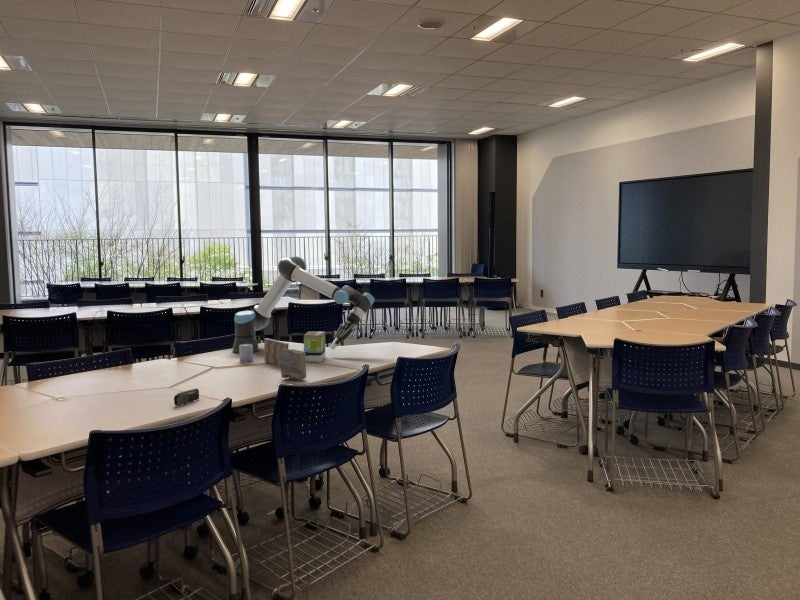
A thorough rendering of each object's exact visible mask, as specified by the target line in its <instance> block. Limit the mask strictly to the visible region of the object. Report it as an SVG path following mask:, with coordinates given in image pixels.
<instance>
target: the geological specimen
mask: <svg viewBox="0 0 800 600" xmlns="http://www.w3.org/2000/svg"><path fill="white" fill-rule="evenodd" d="M280 357H281V367H280V371H281V373H280V374H281V378H282V379H284V378H285V379H287V378H289V379H290V378H292V379H291V380H293V379H297V381H303V380H305V379H306V378H307V365H306V363H307V362H306V361H305V352H304V350H299V349H294V348H288V349H282V350H280Z"/></svg>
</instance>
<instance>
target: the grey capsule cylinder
mask: <svg viewBox="0 0 800 600" xmlns="http://www.w3.org/2000/svg"><path fill="white" fill-rule="evenodd" d="M239 352H240V353H239V362H240V361H241V362H240V363H243V362H247V363H251V362H250V361H252V362H254V352H253V345H252V344H241V345H239Z"/></svg>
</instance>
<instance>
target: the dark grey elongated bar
mask: <svg viewBox="0 0 800 600" xmlns="http://www.w3.org/2000/svg"><path fill="white" fill-rule="evenodd" d="M197 399H198V400H199V399H200V391H199V389H198V388H193V389H188V390H185V391H181V392H178V393H177V394H175V395H174V397H173V402H174V403H173V404H174V405H175V406H174V408H175V407H176V408H178V407H177V406H179V407H181V406H180V405H182V404H185V405H187V404H186V403H188V402H190V403H192V402H191V401H193V402H195V401H194V400H196V401H198V400H197ZM188 404H189V403H188ZM182 406H183V405H182Z"/></svg>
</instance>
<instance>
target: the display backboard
mask: <svg viewBox="0 0 800 600" xmlns="http://www.w3.org/2000/svg"><path fill="white" fill-rule="evenodd" d="M263 342H264V344H263V345H264V362H265V361H266V362H265V363H267V362H269V364H271V363H272V364H271V365H274V364H275V366H277V365H279V366H278V367H280V366H281V357H280V350H282V349H289V345H290V344H289V343H288V342H286V341H285V342H284V341H280V340H275V339H272V338H268V337H264V338H263Z"/></svg>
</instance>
